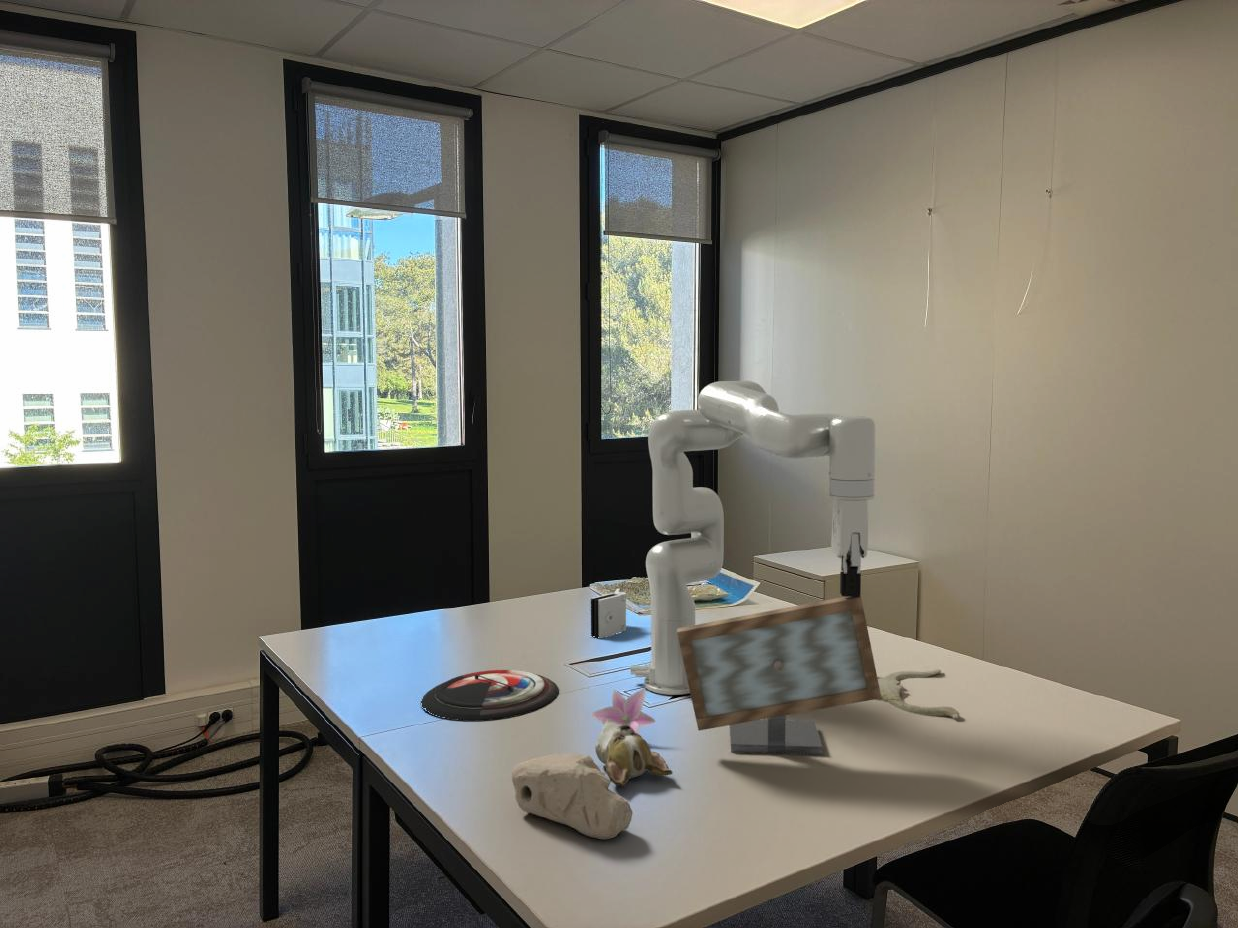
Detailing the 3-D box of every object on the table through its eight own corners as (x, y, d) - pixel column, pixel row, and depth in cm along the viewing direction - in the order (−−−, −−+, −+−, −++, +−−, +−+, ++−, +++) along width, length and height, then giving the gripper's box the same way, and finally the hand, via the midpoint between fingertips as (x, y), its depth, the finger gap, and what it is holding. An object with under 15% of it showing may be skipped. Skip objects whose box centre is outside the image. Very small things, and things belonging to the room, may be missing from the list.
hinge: (617, 624, 251) (617, 588, 250) (634, 627, 248) (634, 590, 247) (588, 637, 239) (588, 598, 238) (605, 640, 237) (605, 601, 236)
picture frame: (698, 731, 164) (676, 632, 162) (698, 725, 167) (677, 628, 165) (882, 699, 160) (861, 597, 159) (879, 693, 163) (858, 593, 162)
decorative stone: (504, 812, 145) (502, 750, 144) (536, 794, 151) (535, 734, 150) (608, 851, 133) (607, 783, 132) (638, 830, 139) (638, 765, 138)
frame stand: (731, 752, 167) (731, 648, 165) (729, 726, 179) (729, 629, 177) (822, 754, 165) (823, 649, 163) (814, 728, 177) (815, 630, 175)
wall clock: (504, 677, 217) (393, 702, 195) (505, 657, 217) (393, 680, 195) (585, 703, 199) (473, 734, 177) (586, 681, 199) (474, 710, 176)
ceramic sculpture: (635, 704, 166) (676, 738, 153) (634, 750, 168) (675, 788, 154) (580, 715, 162) (618, 751, 148) (580, 762, 163) (617, 802, 150)
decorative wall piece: (803, 716, 186) (961, 725, 180) (803, 702, 186) (962, 710, 180) (803, 668, 216) (940, 674, 210) (803, 655, 215) (940, 661, 210)
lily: (587, 739, 176) (582, 707, 171) (627, 704, 182) (623, 673, 177) (628, 772, 169) (625, 740, 164) (669, 735, 175) (666, 704, 170)
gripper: (823, 484, 166) (822, 585, 168) (834, 494, 152) (833, 605, 153) (866, 484, 166) (865, 585, 167) (882, 494, 151) (880, 606, 153)
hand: (850, 595), depth 160 cm, fingers closed
